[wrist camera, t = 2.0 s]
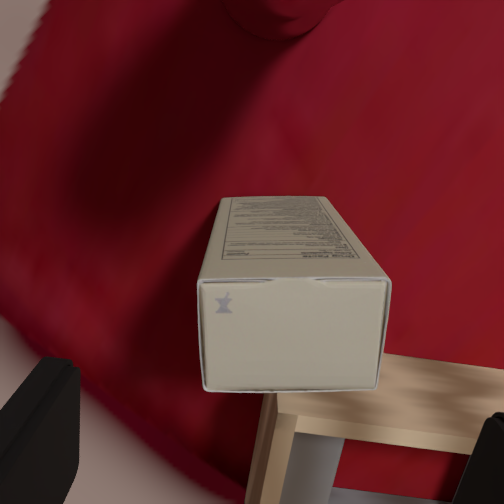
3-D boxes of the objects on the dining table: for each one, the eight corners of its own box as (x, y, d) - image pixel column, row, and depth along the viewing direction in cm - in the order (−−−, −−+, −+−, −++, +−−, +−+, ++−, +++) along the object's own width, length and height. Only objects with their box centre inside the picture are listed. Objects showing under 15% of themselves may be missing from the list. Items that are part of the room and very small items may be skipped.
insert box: (578, 380, 29) (673, 464, 22) (506, 535, 33) (567, 644, 27) (274, 338, 28) (278, 412, 21) (244, 502, 33) (239, 604, 26)
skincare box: (222, 266, 26) (191, 396, 15) (220, 195, 25) (184, 278, 14) (329, 266, 26) (382, 398, 15) (333, 194, 25) (395, 278, 13)
